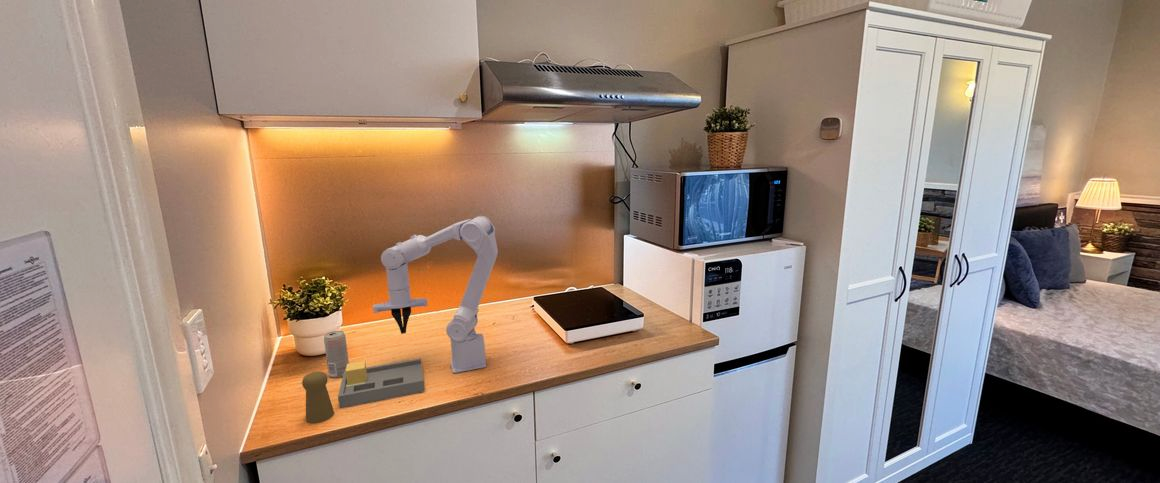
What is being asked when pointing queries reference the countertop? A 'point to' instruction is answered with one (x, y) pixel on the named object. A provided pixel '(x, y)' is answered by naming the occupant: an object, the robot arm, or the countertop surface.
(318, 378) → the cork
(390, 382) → the trap tray
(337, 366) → the energy drink
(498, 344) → the countertop surface
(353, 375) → the block
